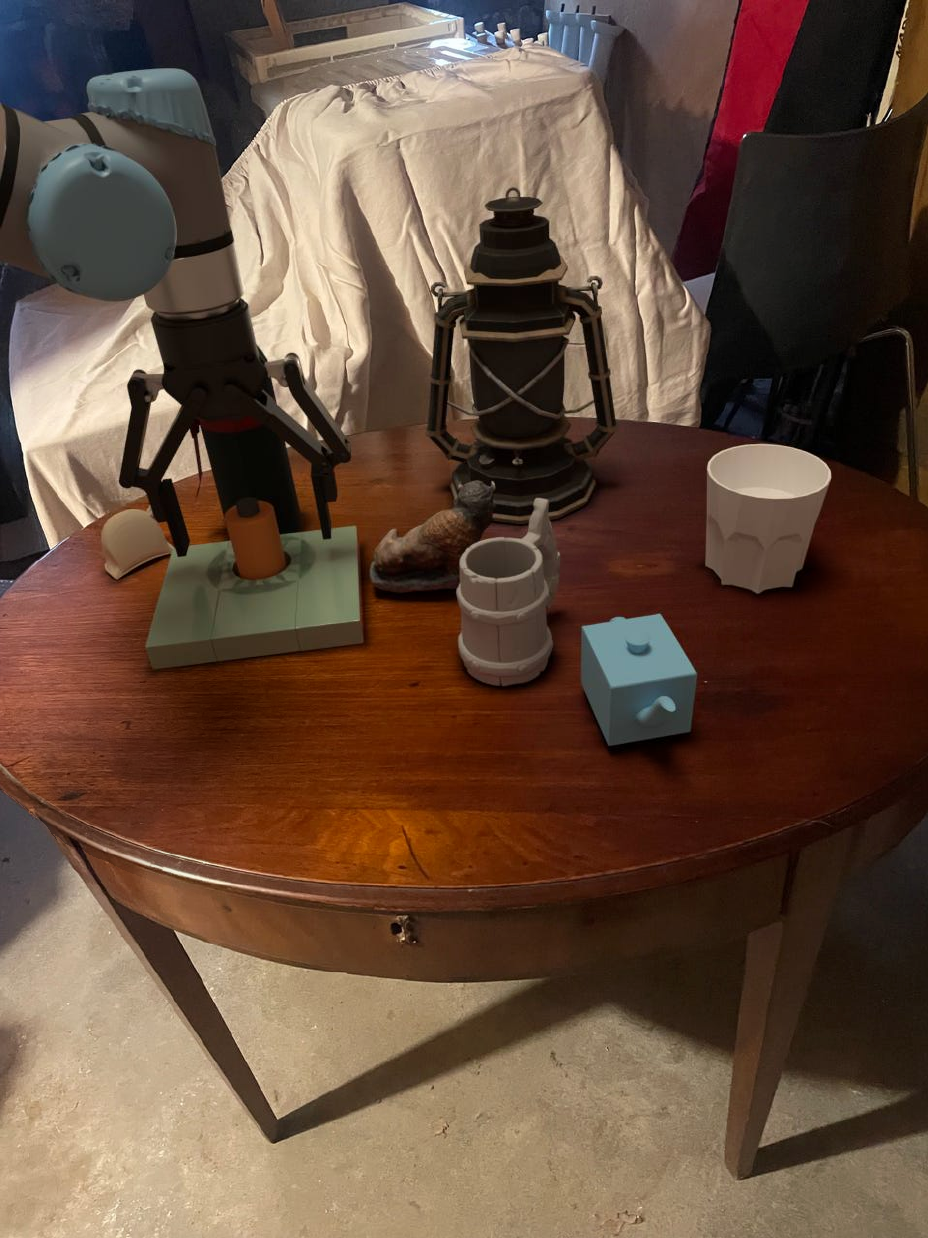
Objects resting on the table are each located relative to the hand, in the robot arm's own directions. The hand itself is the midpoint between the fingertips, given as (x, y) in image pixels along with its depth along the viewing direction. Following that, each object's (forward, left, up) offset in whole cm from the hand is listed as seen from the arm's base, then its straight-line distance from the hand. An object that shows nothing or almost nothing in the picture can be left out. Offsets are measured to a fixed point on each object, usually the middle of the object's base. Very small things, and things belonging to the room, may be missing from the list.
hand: (256, 540), depth 81 cm
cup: (+45, -7, -5) cm, 46 cm away
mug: (+22, -14, -5) cm, 27 cm away
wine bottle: (-2, +11, -5) cm, 12 cm away
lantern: (+27, +13, -5) cm, 30 cm away
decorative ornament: (-13, +8, -5) cm, 16 cm away
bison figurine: (+16, -3, -5) cm, 17 cm away
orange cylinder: (0, 0, -5) cm, 5 cm away
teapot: (+29, -25, -5) cm, 39 cm away
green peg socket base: (0, -3, -5) cm, 6 cm away
